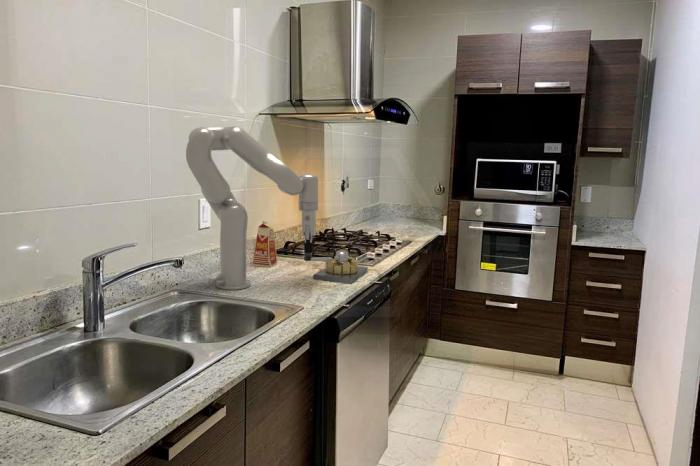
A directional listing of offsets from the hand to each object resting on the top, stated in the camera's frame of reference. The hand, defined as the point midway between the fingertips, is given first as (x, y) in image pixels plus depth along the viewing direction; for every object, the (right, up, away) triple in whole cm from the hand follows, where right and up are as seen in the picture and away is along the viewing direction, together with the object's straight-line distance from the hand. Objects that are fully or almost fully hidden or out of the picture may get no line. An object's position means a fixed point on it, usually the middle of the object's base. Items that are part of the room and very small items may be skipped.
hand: (308, 252), depth 204 cm
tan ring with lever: (+8, -8, +10) cm, 15 cm away
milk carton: (-22, -7, +26) cm, 34 cm away
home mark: (+4, -8, +20) cm, 22 cm away
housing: (+13, -10, +12) cm, 20 cm away
